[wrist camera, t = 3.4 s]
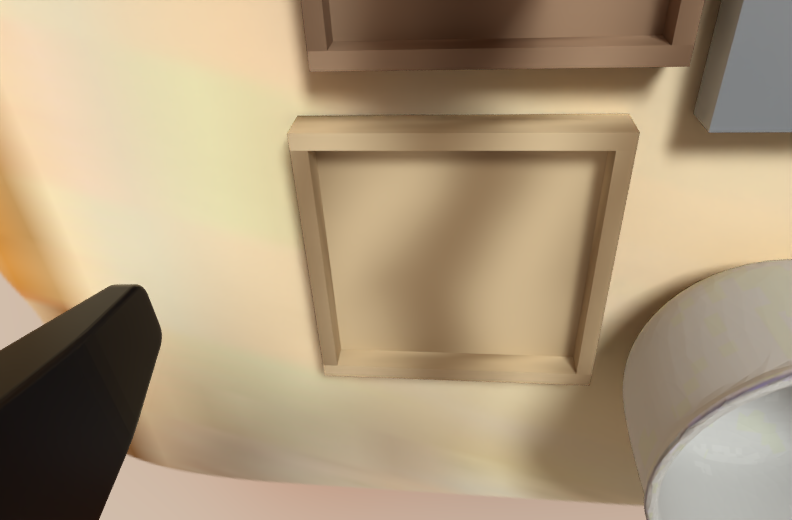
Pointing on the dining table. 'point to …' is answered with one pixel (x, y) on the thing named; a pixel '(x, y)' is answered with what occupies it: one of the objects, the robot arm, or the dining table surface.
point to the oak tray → (462, 241)
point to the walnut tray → (498, 34)
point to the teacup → (716, 399)
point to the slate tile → (748, 69)
